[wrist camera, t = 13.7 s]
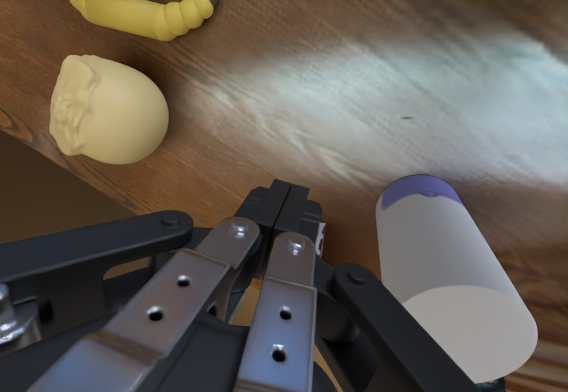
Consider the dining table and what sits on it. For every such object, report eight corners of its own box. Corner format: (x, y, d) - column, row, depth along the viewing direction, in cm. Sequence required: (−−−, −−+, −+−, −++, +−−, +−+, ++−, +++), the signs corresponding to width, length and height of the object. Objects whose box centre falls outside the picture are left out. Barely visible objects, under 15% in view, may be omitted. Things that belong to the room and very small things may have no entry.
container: (373, 241, 45) (383, 376, 27) (377, 173, 40) (392, 281, 23) (452, 246, 42) (519, 395, 25) (466, 175, 38) (558, 294, 21)
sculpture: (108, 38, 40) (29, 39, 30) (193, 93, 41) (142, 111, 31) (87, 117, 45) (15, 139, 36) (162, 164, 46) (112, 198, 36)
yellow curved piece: (69, 15, 39) (44, 13, 36) (64, -39, 37) (37, -46, 34) (214, 51, 38) (201, 53, 35) (220, -3, 35) (206, -7, 32)
